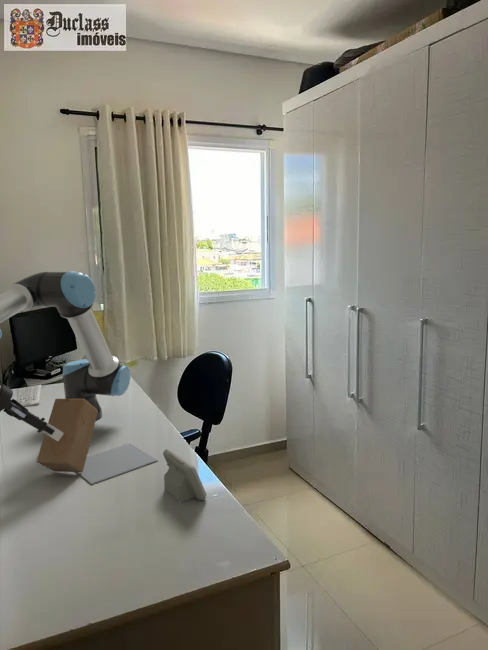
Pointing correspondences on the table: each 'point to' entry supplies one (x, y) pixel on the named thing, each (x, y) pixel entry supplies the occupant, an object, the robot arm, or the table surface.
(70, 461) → the wooden block
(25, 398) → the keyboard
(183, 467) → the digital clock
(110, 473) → the grey mat
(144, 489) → the table surface
